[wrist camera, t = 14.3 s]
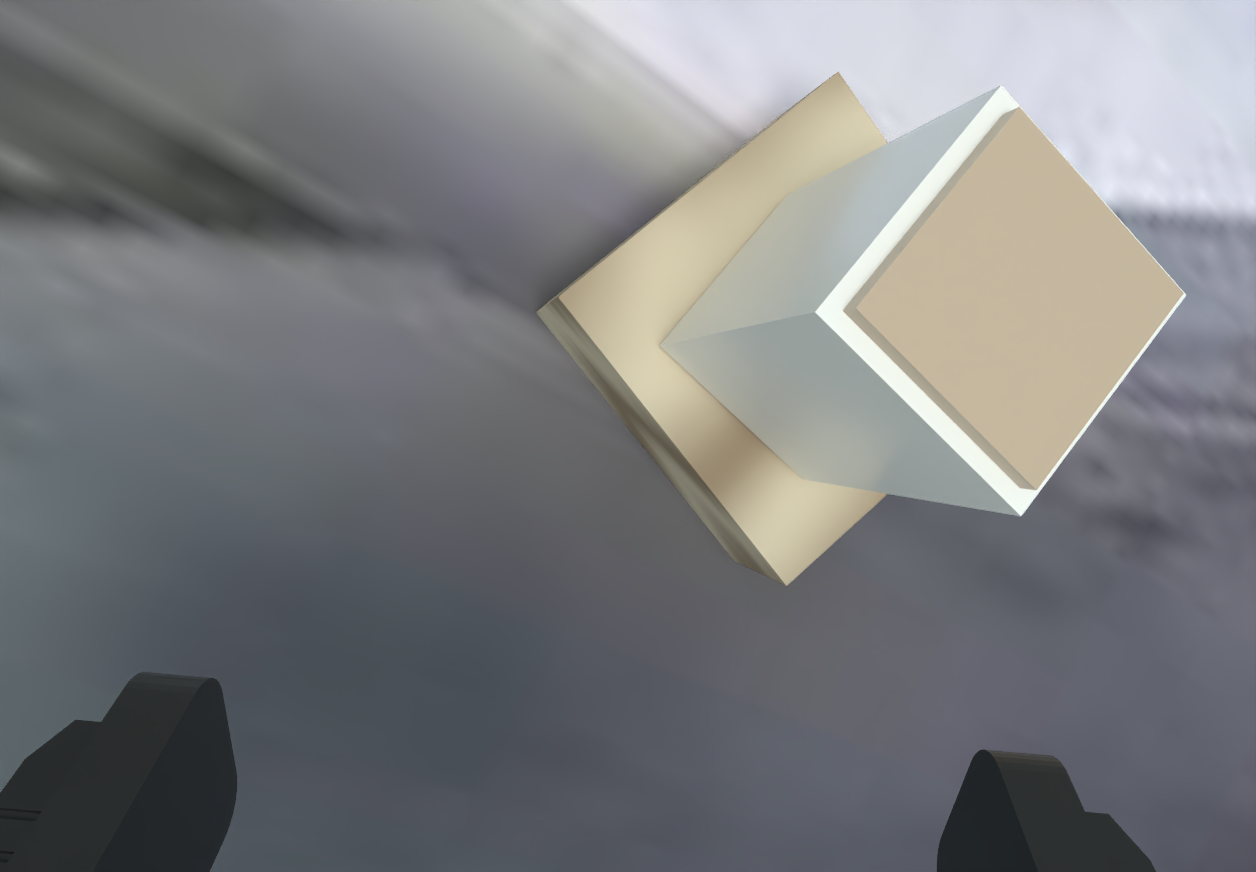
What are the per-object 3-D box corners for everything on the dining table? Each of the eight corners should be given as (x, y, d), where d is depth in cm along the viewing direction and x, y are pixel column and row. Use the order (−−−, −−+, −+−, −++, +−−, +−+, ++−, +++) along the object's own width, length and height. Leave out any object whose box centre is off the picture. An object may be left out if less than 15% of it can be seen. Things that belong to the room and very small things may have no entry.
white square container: (659, 345, 27) (827, 309, 17) (787, 195, 28) (1017, 76, 18) (803, 479, 29) (1037, 519, 19) (920, 331, 30) (1206, 292, 19)
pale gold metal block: (534, 313, 32) (558, 296, 27) (775, 119, 33) (838, 71, 29) (731, 559, 34) (786, 585, 29) (949, 364, 35) (1036, 358, 30)
